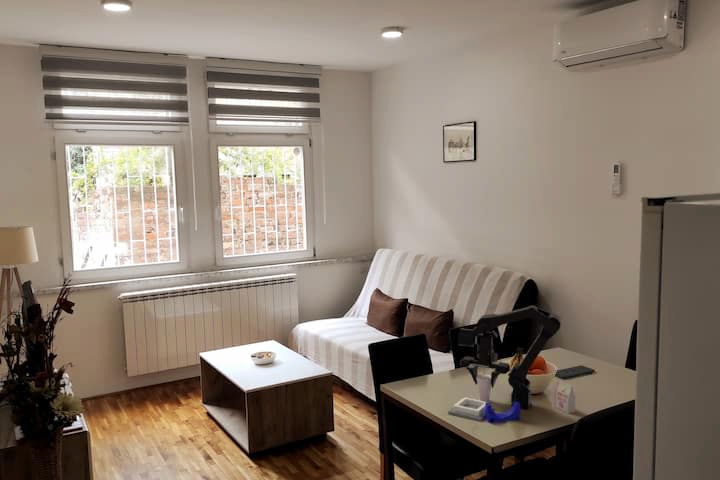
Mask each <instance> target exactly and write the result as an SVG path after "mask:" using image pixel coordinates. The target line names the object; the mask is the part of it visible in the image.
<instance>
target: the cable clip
mask: <svg viewBox="0 0 720 480" xmlns="http://www.w3.org/2000/svg"><path fill="white" fill-rule="evenodd" d="M492 407H493V406H492V404H491V403H490V401H489V402H486V405H485V418H484V419H486V421H487V423H489V424H490V423H491V424H492V423H506V421H520V420H521V408H520V404H519V403H518V402H514V404H513V407H512V406H511V408H510V409H509V411H507V412H505V413H504V412H503V413H497V412H495V411H494V410H492Z"/></svg>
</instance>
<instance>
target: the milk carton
mask: <svg viewBox="0 0 720 480" xmlns="http://www.w3.org/2000/svg"><path fill="white" fill-rule="evenodd" d="M553 406H554V407H553V408H555V409H556V410H559V411H562V412H564V413H565V414H573V413H575V412H576V394H575V392H574V388H573V386H571V385H570V384H567V383H564V382H561V381H557V384H556V387H555V390H554V405H553Z"/></svg>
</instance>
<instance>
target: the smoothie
mask: <svg viewBox="0 0 720 480" xmlns="http://www.w3.org/2000/svg"><path fill="white" fill-rule="evenodd" d="M476 380H477V390H478V392H477V393H478V400H480V401H484V402H490V396H491V389H492V387H491V374H490V375H489V374H486V367H483V374H478V376H476Z"/></svg>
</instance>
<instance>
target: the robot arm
mask: <svg viewBox="0 0 720 480" xmlns="http://www.w3.org/2000/svg"><path fill="white" fill-rule="evenodd" d="M526 319H532V320H534V321H535V322H537V323H538V324H539V325H541V326H542V327H541V330H540V333H539V334H538V336H537V337H536V339H535V340H534V342H533V343H532V345H531V346H530V348H529V349H528V351H527V352H526V354H525V356H524V357H523V358H522V361H521V362H520V363H519V364H518V363H517V362H514V364H513V367H512V368H511V366H510V363H509V362H508V363H507V362H501V361H500V362H498V363H495V362H497V361H498V357H499V356H498V355H499V353H496V352H495V351H494V348H493V343H494V342H493V339H497V338H498V336H499V335H498V333H497V332H495V329H497V328H499V327H501V326H502V325H507V324H510V323H514V322H518V321H523V320H526ZM561 326H562V318H561V317H560V315H558V314H556V313H550V312H548V311H546V310H544V309H541V308H539V307H537V306H536V305H529V306H527V307H523V308H519V309H515V310H511V311H507V312H504V313H503V312H502V313H500V314H499V313H498V314H496V313H495V314H494V313H493V314H492V313H491V314H488V313H487V314H484V315H481V316H480V317H479V319H478V320H477V322H476V326H474V327H473V329H469V328H464V327H460V329H459V334H458V337H457V344H458V346H462V347H464V346H465V347H474V346H475V345H477V350H476V352H475V353H476V354H477V360H476V359H475V357H472V356H467V355H466V356H464V357H463V358H462V359H460V360H459V366H460V367H462V368H465V369H466V370H467V371H468V373H470V375H471V377H472V380H473V382H474V384H475V385H476V386H478V384H477V380H476V376H478V375H479V373H478V369H479V367H481V368H484V367H485V369H486V368H488V369H492V370H493V371H491V373H490V376H491V389H493V388H494V386H495V384H496V381H497V379H498V377H499V375H506V374H507V373H508V374H507V376H508V378H507V382H508V384H509V386H510V387H511V388H512V392H511V393H510V395H511V396H510V397H511V399H510V403H511V404H510V407H511V408H512V407H513V404H514V402H518V403H519V404H520V409H522V410H528V409H529V408H530V407H532V405H533V402H532V390H531V389H530V388H531V387H530V386H531V384H532V382H531V381H530V380H529V379H528V377H527V376H528V373H529V370H530V369H531V367H532V365H533V364H534V362H535V361H536V359H537V358H538V356H539V354H540V353H541V352H542V350H543V349H544V348H545V346H546V344H547V342H548V341H549V340H550V339H551V338H552V337H553V336H554V335H556V333H557V332H559V330H560V328H561Z"/></svg>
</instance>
